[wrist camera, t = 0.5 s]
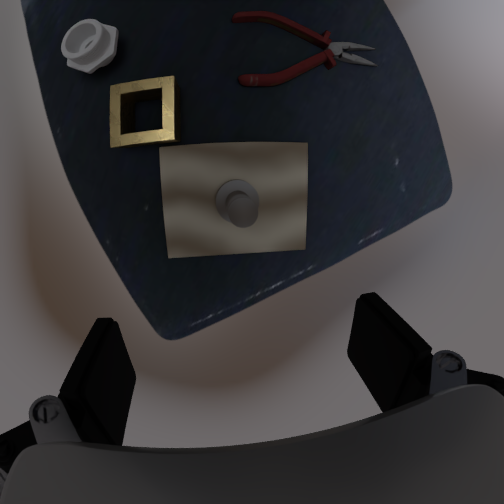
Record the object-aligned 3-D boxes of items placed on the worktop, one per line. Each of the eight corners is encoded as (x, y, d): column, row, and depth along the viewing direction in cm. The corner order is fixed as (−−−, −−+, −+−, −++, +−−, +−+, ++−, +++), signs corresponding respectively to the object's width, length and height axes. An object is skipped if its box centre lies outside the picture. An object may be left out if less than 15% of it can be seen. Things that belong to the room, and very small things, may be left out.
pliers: (377, 93, 32) (387, 91, 30) (237, 89, 30) (239, 84, 28) (366, 28, 28) (374, 22, 26) (230, 16, 26) (232, 8, 24)
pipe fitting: (128, 30, 25) (110, 5, 17) (124, 75, 27) (102, 58, 20) (86, 40, 24) (61, 21, 16) (81, 85, 26) (52, 72, 19)
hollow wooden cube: (126, 95, 28) (110, 85, 22) (180, 88, 29) (174, 75, 23) (126, 147, 30) (110, 147, 25) (180, 141, 31) (174, 139, 26)
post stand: (161, 147, 31) (143, 145, 23) (304, 143, 33) (334, 141, 25) (169, 254, 36) (158, 286, 28) (302, 246, 38) (327, 273, 30)
